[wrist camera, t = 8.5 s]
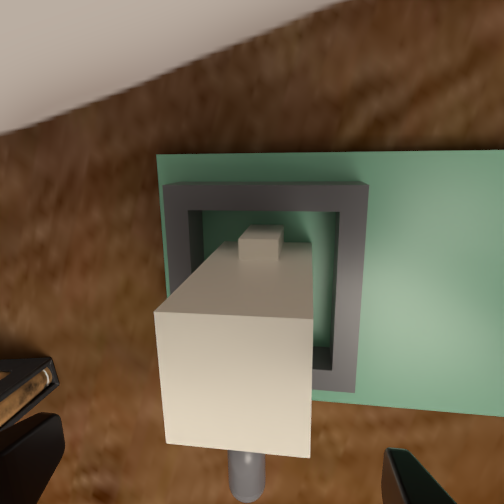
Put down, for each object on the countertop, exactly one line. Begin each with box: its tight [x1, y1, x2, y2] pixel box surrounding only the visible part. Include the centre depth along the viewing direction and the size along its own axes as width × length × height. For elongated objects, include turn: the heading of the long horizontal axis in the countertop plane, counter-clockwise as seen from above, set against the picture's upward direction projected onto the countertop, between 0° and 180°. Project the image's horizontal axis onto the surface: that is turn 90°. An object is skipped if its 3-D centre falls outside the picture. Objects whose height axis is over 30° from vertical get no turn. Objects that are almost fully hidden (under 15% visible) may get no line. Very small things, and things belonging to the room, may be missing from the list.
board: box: [156, 150, 504, 417], centre depth 16 cm, size 18×12×3 cm, turn 91°
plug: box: [154, 225, 313, 503], centre depth 14 cm, size 4×8×8 cm, turn 1°
